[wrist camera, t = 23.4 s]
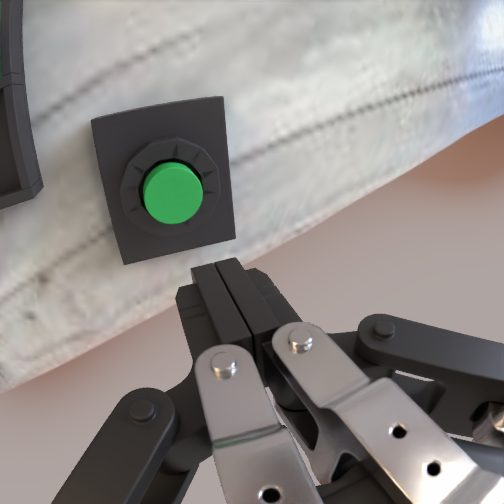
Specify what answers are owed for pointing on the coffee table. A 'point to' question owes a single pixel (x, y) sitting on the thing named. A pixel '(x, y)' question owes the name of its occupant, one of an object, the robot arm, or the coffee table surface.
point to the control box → (158, 152)
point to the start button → (172, 193)
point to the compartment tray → (15, 114)
